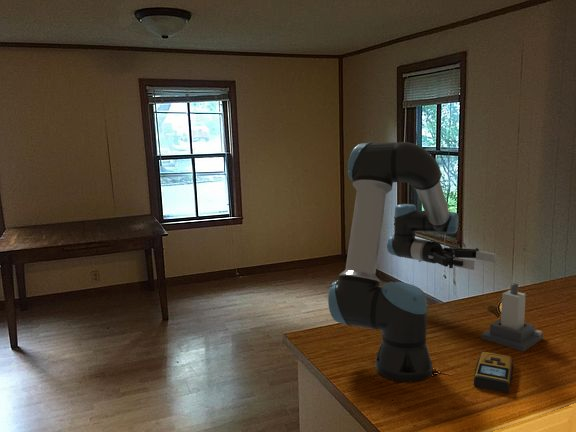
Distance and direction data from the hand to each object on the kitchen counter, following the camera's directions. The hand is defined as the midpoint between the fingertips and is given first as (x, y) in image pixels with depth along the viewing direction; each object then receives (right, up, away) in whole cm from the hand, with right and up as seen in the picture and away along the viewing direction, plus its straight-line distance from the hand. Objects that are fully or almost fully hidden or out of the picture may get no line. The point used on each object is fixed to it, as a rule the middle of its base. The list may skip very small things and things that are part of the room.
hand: (485, 261), depth 154 cm
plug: (+7, -22, -4) cm, 23 cm away
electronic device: (-8, -28, -26) cm, 39 cm away
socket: (+7, -23, -4) cm, 25 cm away
